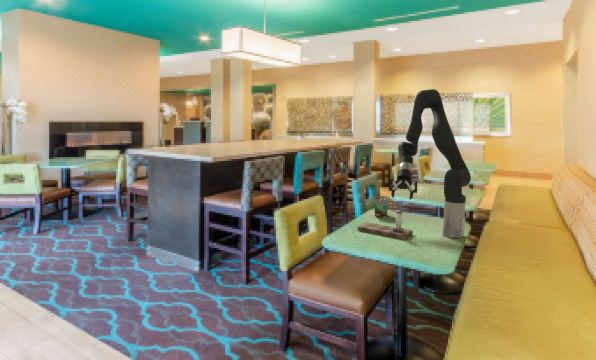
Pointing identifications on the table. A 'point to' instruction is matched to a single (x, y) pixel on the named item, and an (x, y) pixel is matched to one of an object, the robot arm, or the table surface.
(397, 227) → the fader
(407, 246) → the table surface
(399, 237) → the brown wooden board
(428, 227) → the table surface
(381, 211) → the potted plant
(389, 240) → the table surface
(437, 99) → the robot arm
